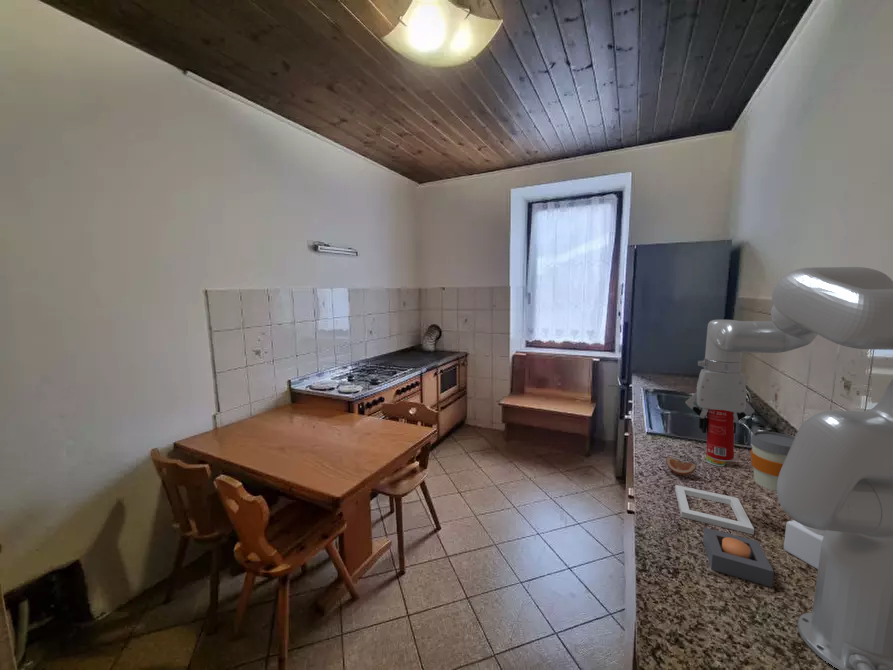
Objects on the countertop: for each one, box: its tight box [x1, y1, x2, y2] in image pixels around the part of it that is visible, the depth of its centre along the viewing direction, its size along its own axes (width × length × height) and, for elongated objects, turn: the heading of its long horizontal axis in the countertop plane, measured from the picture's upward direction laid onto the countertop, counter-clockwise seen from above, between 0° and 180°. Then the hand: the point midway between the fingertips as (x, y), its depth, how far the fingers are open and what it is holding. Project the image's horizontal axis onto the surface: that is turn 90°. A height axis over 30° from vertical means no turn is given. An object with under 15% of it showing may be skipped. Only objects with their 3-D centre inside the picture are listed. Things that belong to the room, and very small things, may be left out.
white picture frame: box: [674, 484, 755, 535], centre depth 96 cm, size 15×15×2 cm
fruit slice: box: [665, 455, 698, 476], centre depth 115 cm, size 8×7×5 cm
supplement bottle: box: [705, 454, 727, 467], centre depth 122 cm, size 5×5×10 cm
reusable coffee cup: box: [750, 430, 795, 492], centre depth 108 cm, size 13×13×15 cm
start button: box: [722, 537, 751, 559], centre depth 77 cm, size 5×5×2 cm
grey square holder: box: [702, 527, 775, 588], centre depth 77 cm, size 10×10×4 cm
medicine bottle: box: [783, 519, 826, 570], centre depth 78 cm, size 7×7×12 cm
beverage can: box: [706, 409, 735, 462], centre depth 93 cm, size 6×6×15 cm
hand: (716, 432), depth 94 cm, fingers closed on beverage can, 4 cm apart
